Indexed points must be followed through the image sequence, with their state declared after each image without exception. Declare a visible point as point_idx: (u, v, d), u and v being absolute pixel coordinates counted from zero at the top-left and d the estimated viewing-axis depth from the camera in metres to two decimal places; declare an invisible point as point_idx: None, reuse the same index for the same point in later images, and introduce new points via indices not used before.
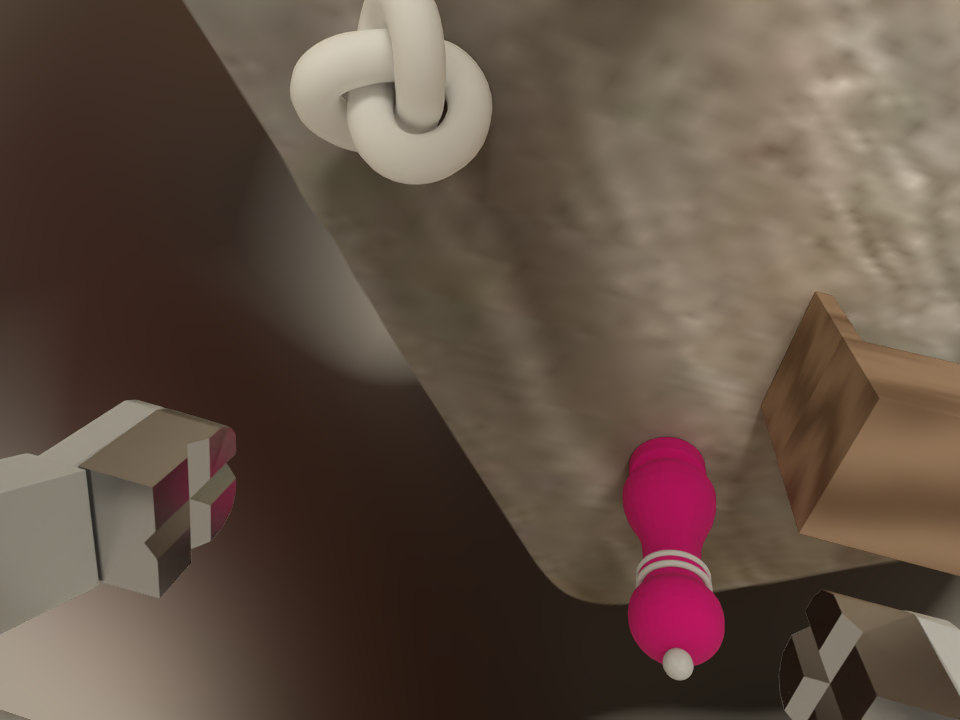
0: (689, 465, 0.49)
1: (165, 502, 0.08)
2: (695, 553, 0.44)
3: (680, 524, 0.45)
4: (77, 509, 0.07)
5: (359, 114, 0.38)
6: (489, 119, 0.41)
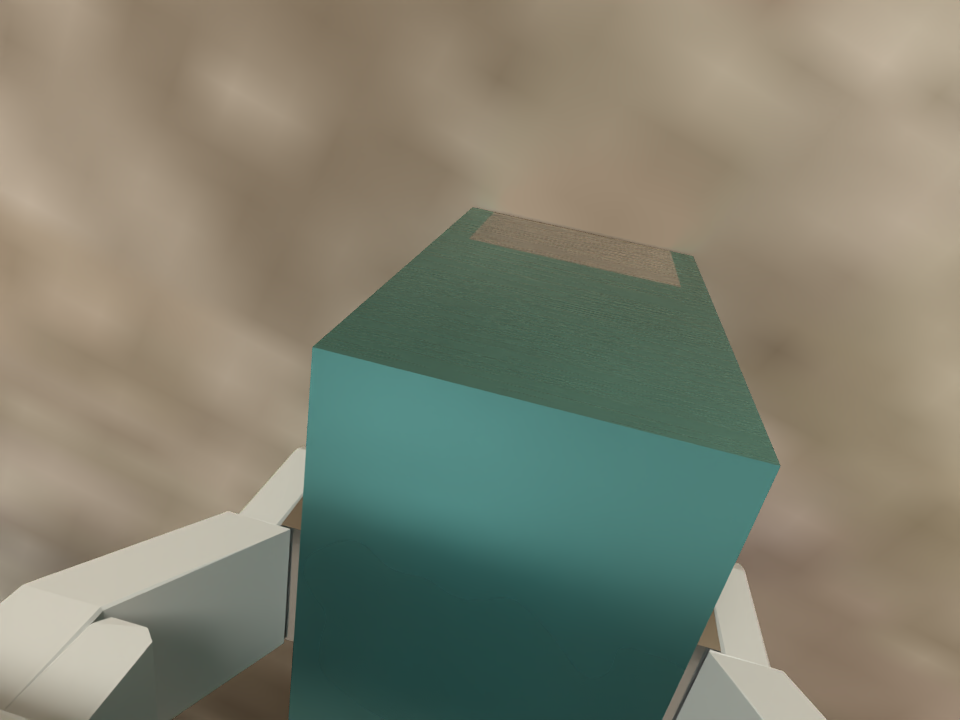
0: None
1: None
2: None
3: None
4: (278, 568, 0.07)
5: None
6: None
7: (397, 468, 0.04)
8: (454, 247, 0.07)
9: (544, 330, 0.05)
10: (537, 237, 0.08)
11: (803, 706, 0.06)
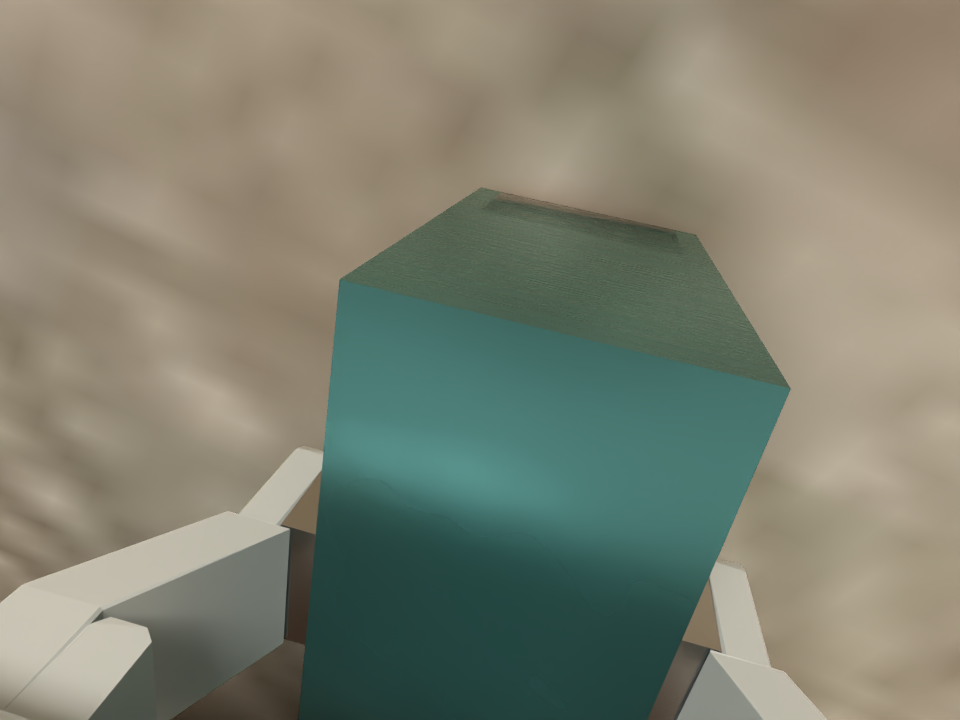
0: None
1: None
2: None
3: None
4: (278, 568, 0.07)
5: None
6: None
7: (418, 401, 0.04)
8: (466, 215, 0.07)
9: (559, 279, 0.05)
10: (546, 213, 0.08)
11: (804, 706, 0.06)
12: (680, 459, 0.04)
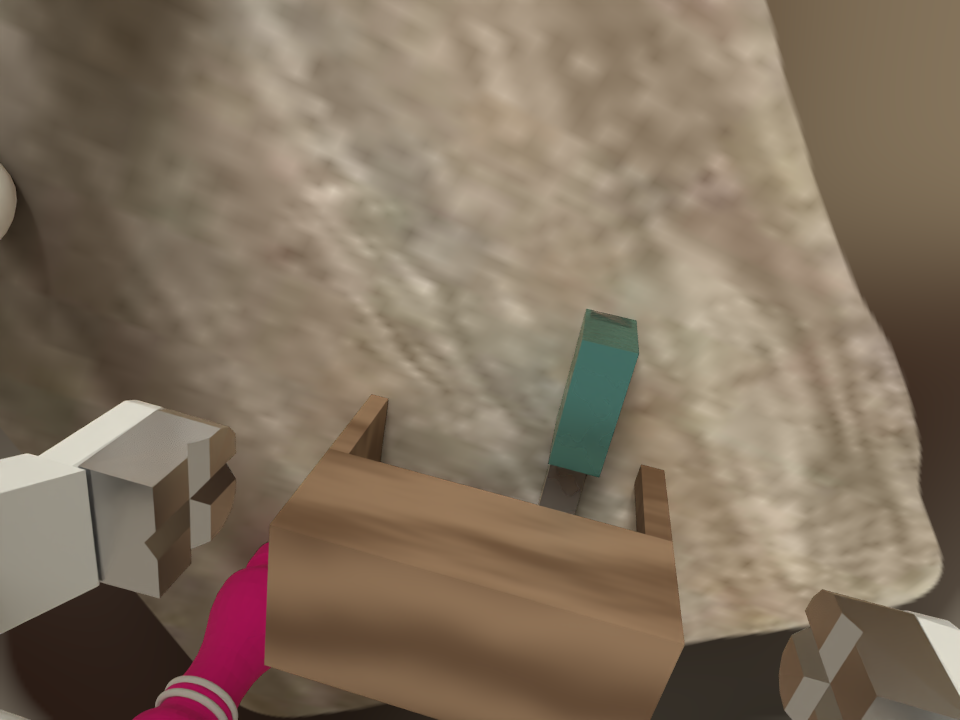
0: None
1: (165, 502, 0.08)
2: (225, 678, 0.40)
3: (227, 644, 0.42)
4: (77, 509, 0.07)
5: None
6: None
7: (591, 355, 0.33)
8: (589, 321, 0.36)
9: (609, 337, 0.34)
10: (603, 317, 0.37)
11: None
12: (626, 363, 0.33)
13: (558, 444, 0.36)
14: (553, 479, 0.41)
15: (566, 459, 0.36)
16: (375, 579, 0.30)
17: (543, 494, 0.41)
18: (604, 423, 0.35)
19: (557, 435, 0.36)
